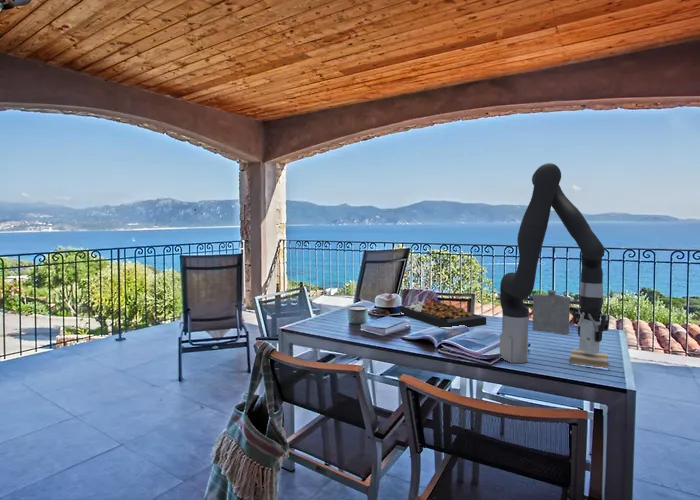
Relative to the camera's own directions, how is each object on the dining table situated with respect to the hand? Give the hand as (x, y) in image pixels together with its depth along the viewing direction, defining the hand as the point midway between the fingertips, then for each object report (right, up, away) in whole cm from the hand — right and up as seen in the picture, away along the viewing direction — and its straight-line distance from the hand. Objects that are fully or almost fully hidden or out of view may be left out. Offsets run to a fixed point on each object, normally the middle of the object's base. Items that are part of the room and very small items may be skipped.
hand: (589, 338), depth 159 cm
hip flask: (+7, -6, +46) cm, 47 cm away
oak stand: (0, -9, +1) cm, 9 cm away
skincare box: (0, -5, 0) cm, 5 cm away
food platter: (-40, -5, +75) cm, 85 cm away
